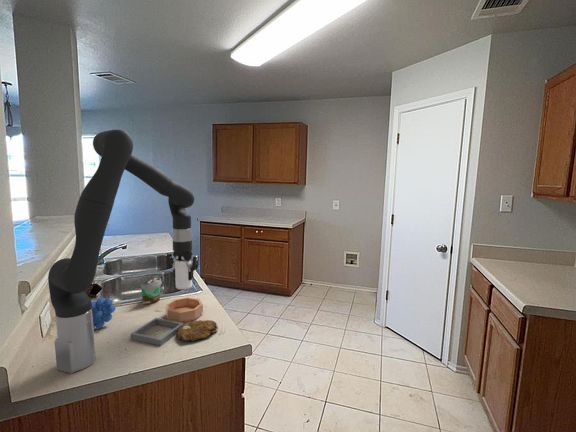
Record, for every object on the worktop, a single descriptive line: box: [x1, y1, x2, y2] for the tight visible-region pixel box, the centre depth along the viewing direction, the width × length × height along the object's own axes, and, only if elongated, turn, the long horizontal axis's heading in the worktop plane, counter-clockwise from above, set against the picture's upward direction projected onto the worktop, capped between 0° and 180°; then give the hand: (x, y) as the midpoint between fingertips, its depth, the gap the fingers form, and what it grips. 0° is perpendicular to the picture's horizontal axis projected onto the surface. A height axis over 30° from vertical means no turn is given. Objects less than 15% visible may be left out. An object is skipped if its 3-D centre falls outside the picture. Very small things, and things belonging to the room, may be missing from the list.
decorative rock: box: [175, 319, 219, 342], centre depth 117 cm, size 11×4×15 cm
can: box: [174, 260, 193, 291], centre depth 129 cm, size 6×6×12 cm
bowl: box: [165, 296, 204, 324], centre depth 131 cm, size 14×14×4 cm
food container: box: [140, 275, 163, 306], centre depth 144 cm, size 12×6×10 cm, turn 179°
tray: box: [130, 317, 185, 346], centre depth 116 cm, size 13×13×2 cm
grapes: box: [91, 296, 116, 330], centre depth 119 cm, size 12×7×12 cm, turn 133°
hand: (183, 278), depth 129 cm, fingers closed on can, 6 cm apart
